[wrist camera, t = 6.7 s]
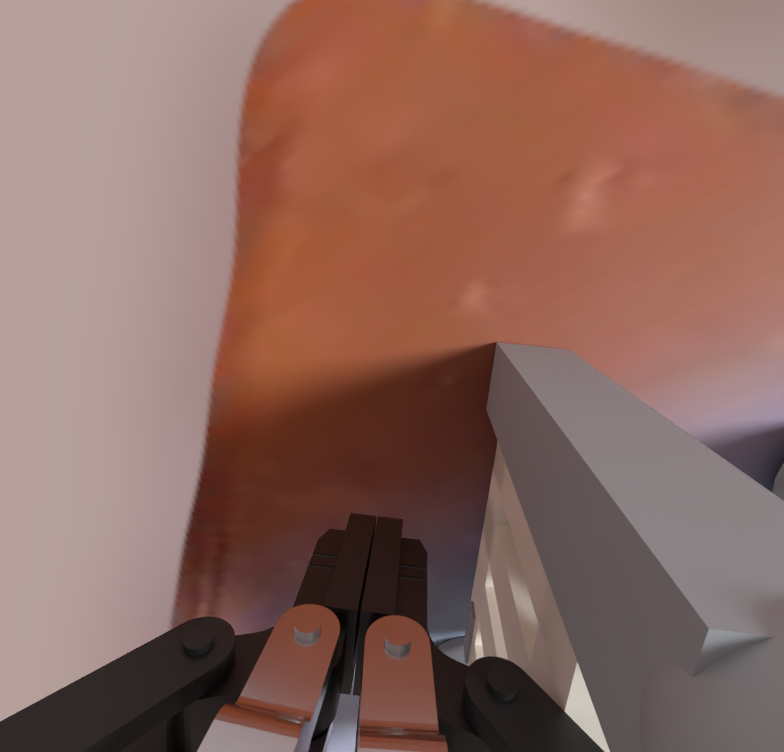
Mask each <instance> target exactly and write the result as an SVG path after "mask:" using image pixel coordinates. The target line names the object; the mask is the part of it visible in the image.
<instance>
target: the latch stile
mask: <svg viewBox="0 0 784 752" xmlns="http://www.w3.org/2000/svg"><path fill="white" fill-rule="evenodd" d="M486 410H487V413H488V416H489V419H490V421H491V424H492V427H493V430H494V433H495V435H496V438H497V441H498V444H499V446H500V449H501V452H502V455H503V457H504V460H505V463H506V466H507V468H508V471H509V474H510V477H511V480H512V482H513V485H514V488H515V491H516V493H517V496H518V499H519V502H520V504H521V507H522V510H523V513H524V515H525V518H526V521H527V524H528V526H529V529H530V532H531V535H532V538H533V540H534V543H535V546H536V549H537V551H538V554H539V557H540V560H541V562H542V565H543V568H544V571H545V573H546V576H547V579H548V582H549V585H550V587H551V590H552V593H553V596H554V598H555V601H556V604H557V607H558V609H559V612H560V615H561V618H562V620H563V623H564V626H565V629H566V632H567V634H568V637H569V640H570V643H571V645H572V648H573V651H574V654H575V656H576V659H577V662H578V665H579V667H580V670H581V673H582V676H583V679H584V681H585V684H586V687H587V690H588V692H589V695H590V698H591V701H592V703H593V706H594V709H595V712H596V714H597V717H598V720H599V723H600V726H601V728H602V731H603V734H604V737H605V739H606V742H607V745H608V748H609V750H610V752H784V501H783V500H782V499H780V498H779V497H778V496H776V495H775V494H773V493H772V492H770V491H769V490H768V489H766V488H765V487H763V486H762V485H760V484H759V483H758V482H756V481H755V480H753V479H752V478H751V477H749V476H748V475H746V474H745V473H743V472H742V471H741V470H739V469H738V468H736V467H735V466H734V465H732V464H731V463H729V462H728V461H726V460H725V459H724V458H722V457H721V456H719V455H718V454H717V453H715V452H714V451H712V450H711V449H709V448H708V447H707V446H705V445H704V444H702V443H701V442H700V441H698V440H697V439H695V438H694V437H692V436H691V435H690V434H688V433H687V432H685V431H684V430H683V429H681V428H680V427H678V426H677V425H675V424H674V423H673V422H671V421H670V420H668V419H667V418H665V417H664V416H663V415H661V414H660V413H658V412H657V411H656V410H654V409H653V408H651V407H650V406H648V405H647V404H646V403H644V402H643V401H641V400H640V399H639V398H637V397H636V396H634V395H633V394H631V393H630V392H629V391H627V390H626V389H624V388H623V387H622V386H620V385H619V384H617V383H616V382H614V381H613V380H612V379H610V378H609V377H607V376H606V375H605V374H603V373H602V372H600V371H599V370H597V369H596V368H595V367H593V366H592V365H590V364H589V363H587V362H586V361H585V360H583V359H582V358H580V357H579V356H578V355H576V354H575V353H573V352H572V351H570V350H568V349H559V348H549V347H539V346H529V345H520V344H510V343H500V342H497V343H496V349H495V356H494V362H493V368H492V375H491V381H490V388H489V394H488V401H487V407H486Z"/></svg>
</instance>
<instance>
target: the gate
mask: <svg viewBox="0 0 784 752" xmlns="http://www.w3.org/2000/svg"><path fill="white" fill-rule="evenodd" d="M463 646H464V657H465V663H466V664H468V666H470V665H471V664H472V663H473V662H474V661H475V660H477V659H479V658H482V657H487V656H495V657H500V658H504V659H507V660H509V661H511V662H513V663H515V664H516V665H518V666H519V667H520V668H521V669H523V670H524V671H525V672H526V673H527V674H528V675H529V676H530V677H531V678H532V679H533V680H534V681H535V682H536V683H537V684H538V685H539V686H540V687H541V688H542V689H543V690H544V691H545V692H546V693H547V694H548V695H549V696H550V697H551V698H552V699H553V700H554V701H555V702H556V703H557V704H558V705H559V706H560V707H561V708H562V709H563V710H564V711H565V712H566V713H567V714H568V715H569V716H570V717H571V718H572V719H573V720H574V722H575V723H576V724H577V725H578V726H579V727H580V728H581V729H582V730H583V731H584V732H585V733H586V734H587V735H588V736H589V737H590V738H591V739H592V740H593V741H594V742H595V743H596V744H597V745H598V746H599V747H600V748H601V749H602V750H603V751H604V752H610V750H609V748H608V745H607V742H606V739H605V737H604V734H603V731H602V728H601V726H600V723H599V720H598V717H597V714H596V712H595V709H594V706H593V703H592V701H591V698H590V695H589V692H588V690H587V687H586V684H585V681H584V679H583V676H582V673H581V670H580V667H579V665H578V662H577V659H576V656H575V654H574V651H573V648H572V645H571V643H570V640H569V637H568V634H567V632H566V629H565V626H564V623H563V620H562V618H561V615H560V612H559V609H558V607H557V604H556V601H555V598H554V596H553V593H552V590H551V587H550V585H549V582H548V579H547V576H546V573H545V571H544V568H543V565H542V562H541V560H540V557H539V554H538V551H537V549H536V546H535V543H534V540H533V538H532V535H531V532H530V529H529V526H528V524H527V521H526V518H525V515H524V513H523V510H522V507H521V504H520V502H519V499H518V496H517V493H516V491H515V488H514V485H513V482H512V480H511V477H510V474H509V471H508V468H507V466H506V463H505V460H504V457H503V455H502V452H501V449H500V446H499V444H498V441H497V447H496V453H495V459H494V465H493V471H492V477H491V483H490V489H489V495H488V501H487V507H486V513H485V519H484V525H483V531H482V537H481V543H480V549H479V555H478V560H477V566H476V572H475V578H474V584H473V590H472V596H471V602H470V608H469V614H468V620H467V626H466V632H465V639H464V644H463Z"/></svg>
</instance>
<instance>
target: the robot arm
mask: <svg viewBox="0 0 784 752" xmlns="http://www.w3.org/2000/svg"><path fill="white" fill-rule="evenodd" d="M402 524H403V519H396V518H388V517H380V516H378V519H377V524H376V516H371V515H363V514H354V513H351V514H350V517H349V521H348V524H347V528H346V531H343V530H335V529H329V530H328V531H327V532H326V533H325V534H324V535H323V536H321V537H320V538H319V539H318V542H317V544H316V547H315V550H314V552H313V555H312V558H311V560H310V563H309V566H308V568H307V571H306V574H305V576H304V579H303V582H302V584H301V587H300V590H299V592H298V595H297V598H296V600H295V603H294V606H293V608H291V609H290V610H288V611H286V612H285V613H284V614H283V615H282V616H281V617H280V618H279V620H278V621H277V623H276V625H275V626H274V627H272V628H270V629H268V630H265V631H262V632H257V633H250V634H243V635H236V636H235V633H234V630H233V628H232V626H231V625H230V624H229V623H228V622H226V621H225V620H223V619H220V618H216V617H200V618H195V619H192V620H189V621H187V622H185V623H183V624H181V625H179V626H177V627H175V628H174V629H172V630H170V631H168V632H166V633H164V634H163V635H161V636H159V637H157V638H155V639H153V640H151V641H150V642H148V643H146V644H144V645H142V646H140V647H138V648H136V649H134V650H133V651H131V652H129V653H127V654H125V655H123V656H121V657H120V658H118V659H116V660H114V661H112V662H110V663H109V664H107V665H105V666H103V667H101V668H99V669H97V670H96V671H94V672H92V673H90V674H88V675H86V676H85V677H82V678H81V679H79V680H77V681H75V682H73V683H71V684H69V685H68V686H66V687H64V688H62V689H60V690H58V691H56V692H55V693H53V694H51V695H49V696H47V697H45V698H44V699H41V700H40V701H38V702H36V703H34V704H32V705H30V706H29V707H27V708H25V709H23V710H21V711H19V712H17V713H16V714H14V715H12V716H10V717H8V718H6V719H4V720H3V721H1V722H0V752H326V751H327V747H328V744H329V740H330V736H331V733H332V728H333V720H334V718H335V715H336V712H337V707H338V702H339V697H340V693H342V694H349V695H350V693H351V687H352V681H353V675H354V669H355V680H354V691H353V695H358V696H360V699H359V710H358V720H357V730H356V743H355V752H604V751H603V750H602V749H601V748H600V747H599V746H598V745H597V744H596V743H595V742H594V741H593V740H592V739H591V738H590V737H589V736H588V735H587V734H586V733H585V732H584V731H583V730H582V729H581V728H580V727H579V726H578V725H577V724H576V723H575V722H574V720H573V719H572V718H571V717H570V716H569V715H568V714H567V713H566V712H565V711H564V710H563V709H562V708H561V707H560V706H559V705H558V704H557V703H556V702H555V701H554V700H553V699H552V698H551V697H550V696H549V695H548V694H547V693H546V692H545V691H544V690H543V689H542V688H541V687H540V686H539V685H538V684H537V683H536V682H535V681H534V680H533V679H532V678H531V677H530V676H529V675H528V674H527V673H526V672H525V671H524V670H523V669H521V668H520V667H519V666H518V665H516V664H515V663H513V662H511V661H509V660H507V659H504V658H500V657H495V656H487V657H482V658H479V659H477V660H475V661H474V662H473V663H472V664H471V665H470V666H467V665H465V664H463V663H461V662H458V661H456V660H454V659H452V658H450V657H448V656H447V655H445V654H444V653H443V652H442V651H440V650H439V649H438V648H437V647H436V645H435V644H434V643H433V641H432V640H431V638H430V636H429V633H428V629H427V552H426V550H425V549H424V547H423V545H422V543H421V542H420V540H415V539H407V538H401V535H402ZM375 525H376V530H375ZM355 664H356V668H355Z"/></svg>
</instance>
